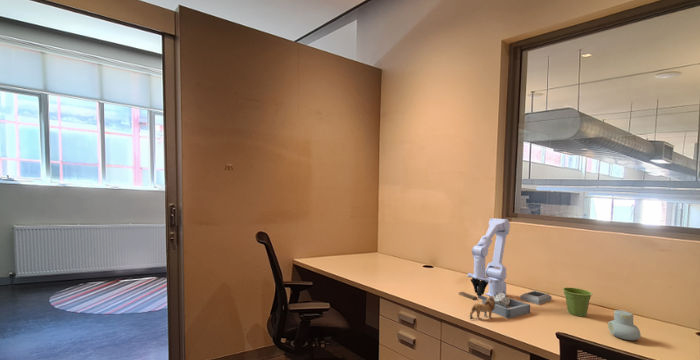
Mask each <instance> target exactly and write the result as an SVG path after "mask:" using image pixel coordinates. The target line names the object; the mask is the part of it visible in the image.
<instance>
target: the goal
mask: <svg viewBox="0 0 700 360" xmlns="http://www.w3.org/2000/svg"><path fill="white" fill-rule="evenodd" d="M508 298H509V299H510V303H509V306H510V307H509V306H508V307H507V308H505V307H503V306H500V305H497V304H495V308H494V310H493V311H492V313H493V314H496V315H498V316H501V317H504V318H506V319H512V318H516V317H520V316H524V315H528V314H530V313H531V304H529V303H527V302H523V301H522V300H518V299H514V298H511V297H508ZM481 300H482V299H481ZM511 300H512V301H511ZM481 302H482V303H481V304H484V303H485V302H486V300H482V301H481Z"/></svg>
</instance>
